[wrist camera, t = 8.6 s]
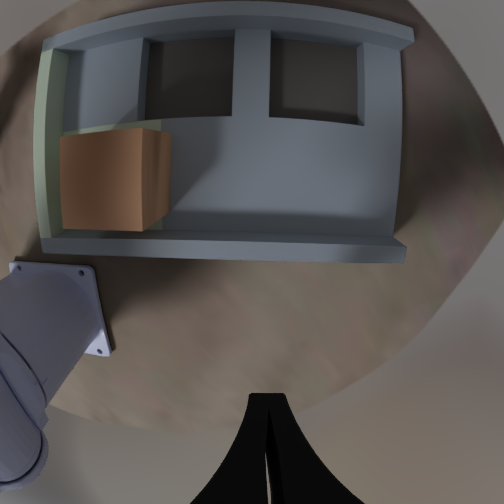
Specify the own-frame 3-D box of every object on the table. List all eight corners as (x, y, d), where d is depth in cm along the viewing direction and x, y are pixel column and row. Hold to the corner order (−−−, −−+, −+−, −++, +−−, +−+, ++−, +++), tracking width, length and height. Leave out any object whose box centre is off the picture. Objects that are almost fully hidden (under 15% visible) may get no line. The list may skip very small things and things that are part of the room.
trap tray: (69, 237, 19) (42, 253, 16) (71, 51, 14) (43, 39, 11) (381, 245, 19) (403, 263, 16) (389, 44, 14) (413, 28, 11)
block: (103, 210, 17) (63, 228, 12) (102, 137, 15) (59, 136, 11) (170, 211, 17) (142, 231, 12) (171, 133, 15) (142, 127, 11)
